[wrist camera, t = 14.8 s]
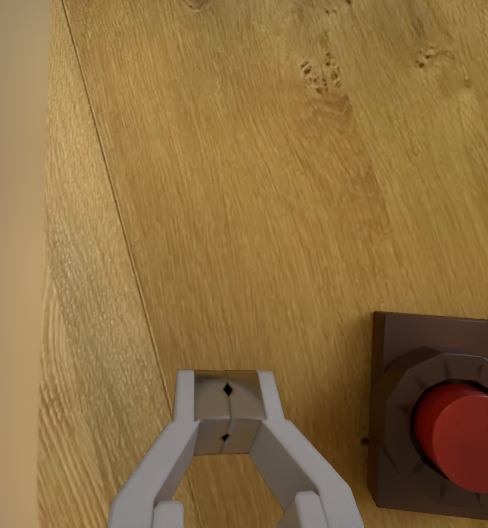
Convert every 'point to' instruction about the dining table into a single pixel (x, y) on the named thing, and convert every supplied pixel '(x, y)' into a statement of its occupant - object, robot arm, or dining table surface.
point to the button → (455, 433)
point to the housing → (405, 403)
